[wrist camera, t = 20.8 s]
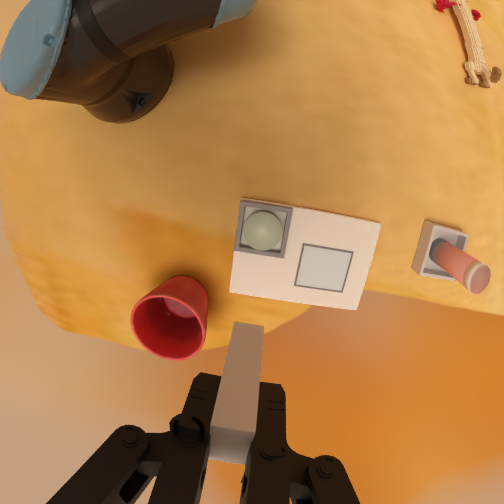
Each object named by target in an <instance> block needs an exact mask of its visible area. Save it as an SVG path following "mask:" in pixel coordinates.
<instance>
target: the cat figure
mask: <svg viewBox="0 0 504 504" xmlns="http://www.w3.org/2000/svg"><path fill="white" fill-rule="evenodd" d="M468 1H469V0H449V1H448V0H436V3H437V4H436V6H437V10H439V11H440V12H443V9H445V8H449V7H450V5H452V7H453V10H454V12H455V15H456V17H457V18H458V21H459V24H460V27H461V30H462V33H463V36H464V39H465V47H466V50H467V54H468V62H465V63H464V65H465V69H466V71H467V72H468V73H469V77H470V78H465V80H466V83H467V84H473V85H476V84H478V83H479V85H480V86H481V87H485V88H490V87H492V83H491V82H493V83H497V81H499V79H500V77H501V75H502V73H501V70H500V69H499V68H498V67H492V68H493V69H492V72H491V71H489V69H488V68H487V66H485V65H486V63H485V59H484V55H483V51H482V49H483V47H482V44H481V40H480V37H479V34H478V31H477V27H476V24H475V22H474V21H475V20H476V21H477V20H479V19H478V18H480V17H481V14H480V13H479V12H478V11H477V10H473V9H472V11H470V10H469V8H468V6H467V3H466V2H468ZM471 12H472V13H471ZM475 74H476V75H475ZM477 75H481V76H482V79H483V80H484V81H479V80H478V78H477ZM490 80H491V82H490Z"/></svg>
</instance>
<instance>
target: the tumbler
mask: <svg viewBox="0 0 504 504" xmlns="http://www.w3.org/2000/svg"><path fill="white" fill-rule="evenodd" d="M429 258H430V259H431V260H432V261H433V262H434V263H436V264H437V265H438V266H440V267H441V268H442V269H444V270H445V271H446V272H447V273H449V274H450V275H451V276H452V277H454V278H455V279H456V280H457V281H459V282H460V283H461V284H462V285H463V286H465V288H466V289H468V290H469V291H470V292H471V293H472V294H475V295H477V294H480V293H481V292H483V291H484V290H485V288H486V287H487V285H488V283H489V281H490V276H491V272H490V269H489V267H488V266H487V265H485V264H483V263H482V262H480V261H478V260H477V259H475V258H473V257H472V256H470V255H469V254H467V253H465V252H464V251H462V250H461V249H459V248H457V247H456V246H454V245H452V244H451V243H449V242H447V241H446V240H444V239H442V238H437V239H435V240H434V241H433V242H432V244H431V247H430V251H429Z"/></svg>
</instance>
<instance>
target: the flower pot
mask: <svg viewBox="0 0 504 504" xmlns="http://www.w3.org/2000/svg"><path fill="white" fill-rule="evenodd" d="M207 314H208V296H207V293H206V291H205V289H204V287H203V286H202V285H201V284H200V283H199V282H198V281H196V280H195V279H193V278H190V277H187V276H176V277H173V278H171V279H169V280H167V281H166V282H164V283H163V284H161V285H160V286H158V287H157V288H155V289H154V290H153V291H151V292H150V293H149V294H147V295H146V296H144V297H143V298H142V299H141V300H139V301H138V302H137V303H136V305H135V306H134V308H133V310H132V313H131V327H132V330H133V333H134V335H135V337H136V338H137V340H138V341H139V342H140V343H141V344H142V346H143V347H145V348H146V349H147V350H148V351H150V352H151V353H153V354H154V355H156V356H158V357H161V358H164V359H168V360H184V359H188V358H191V357H192V356H194V355H195V354H197V353H198V352H199V351H200V349H201V348H202V346H203V344H204V341H205V337H206V328H207Z"/></svg>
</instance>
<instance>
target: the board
mask: <svg viewBox="0 0 504 504" xmlns="http://www.w3.org/2000/svg"><path fill="white" fill-rule="evenodd" d="M261 210H265V211H269V212H272V213H273V214H275V215H276V216H277V217H278V218H279V220H280V222H281V226H282V237H281V240H280V241H279V243H278V244H277V245H276V246H275V247H274V248H272V249H270V250H265V251H261V250H256V249H254V248H252V247H251V246H249V245H248V243H247V242H246V241H245V238H244V235H243V228H244V225H245V222H246V220H247V219H248V217H249V216H250V215H251V214H253V213H254V212H256V211H261ZM380 228H381V224H380V223H379V222H375V221H371V220H366V219H361V218H356V217H351V216H346V215H341V214H336V213H331V212H326V211H320V210H315V209H310V208H304V207H298V206H292V205H287V204H281V203H274V202H268V201H262V200H255V199H249V198H241V202H240V209H239V217H238V224H237V232H236V240H235V247H234V257H233V265H232V273H231V281H230V289H229V292H231V293H237V294H243V295H249V296H256V297H262V298H269V299H275V300H282V301H289V302H296V303H303V304H310V305H318V306H326V307H334V308H343V309H350V310H357V306H358V304H359V301H360V298H361V294H362V291H363V288H364V285H365V282H366V279H367V275H368V272H369V269H370V265H371V262H372V258H373V255H374V251H375V247H376V244H377V240H378V236H379V232H380Z"/></svg>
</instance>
